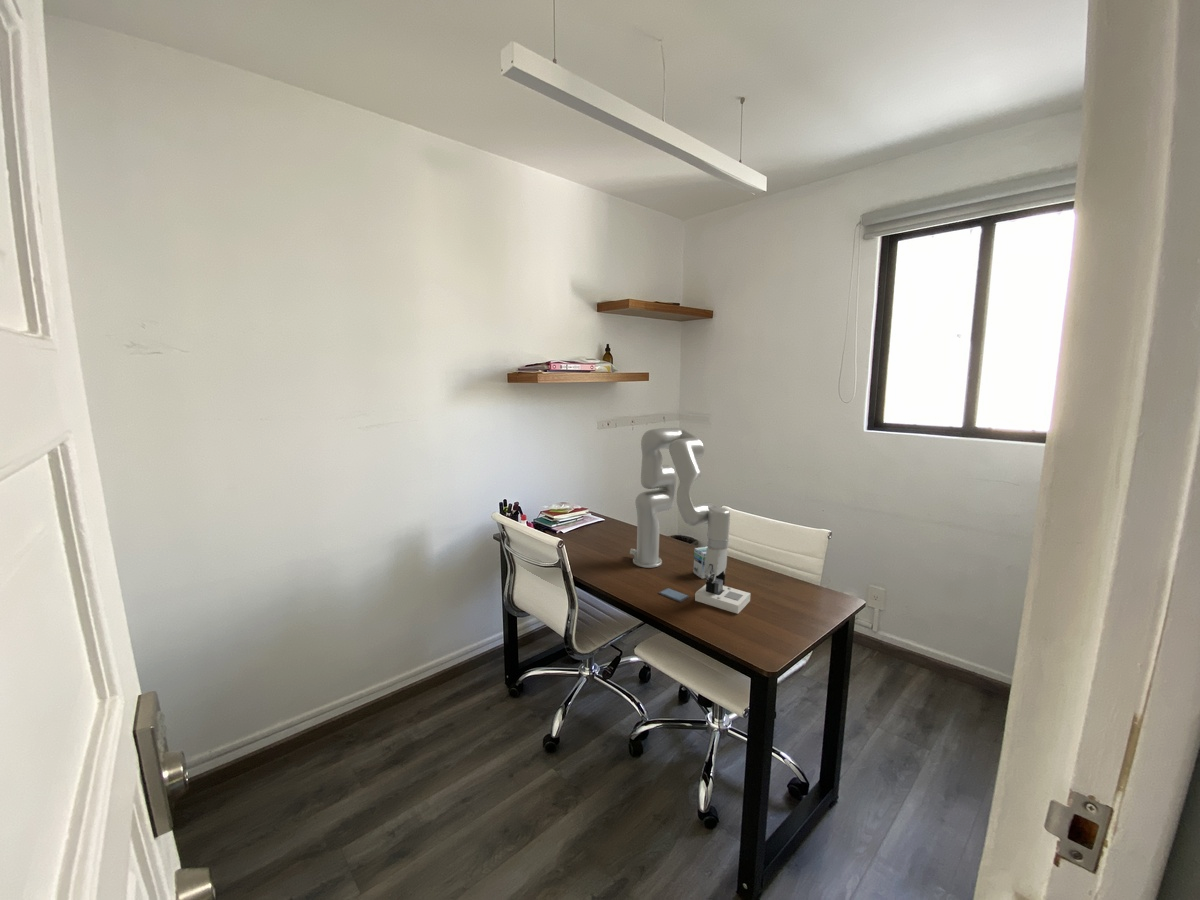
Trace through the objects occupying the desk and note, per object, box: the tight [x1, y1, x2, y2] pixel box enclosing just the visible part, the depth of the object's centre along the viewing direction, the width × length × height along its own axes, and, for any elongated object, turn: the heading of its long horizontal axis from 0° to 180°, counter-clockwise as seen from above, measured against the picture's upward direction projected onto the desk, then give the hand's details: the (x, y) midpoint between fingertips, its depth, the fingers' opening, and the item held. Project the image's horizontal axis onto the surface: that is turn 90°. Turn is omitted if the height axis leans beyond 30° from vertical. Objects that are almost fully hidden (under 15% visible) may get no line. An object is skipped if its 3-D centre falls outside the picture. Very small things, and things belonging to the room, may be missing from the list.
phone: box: [657, 587, 691, 603], centre depth 177 cm, size 10×6×1 cm, turn 46°
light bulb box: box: [692, 546, 714, 579], centre depth 196 cm, size 11×7×11 cm, turn 112°
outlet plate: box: [694, 584, 751, 614], centre depth 173 cm, size 16×12×3 cm
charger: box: [714, 578, 724, 595], centre depth 174 cm, size 4×4×7 cm
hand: (715, 587), depth 174 cm, fingers open, 8 cm apart
